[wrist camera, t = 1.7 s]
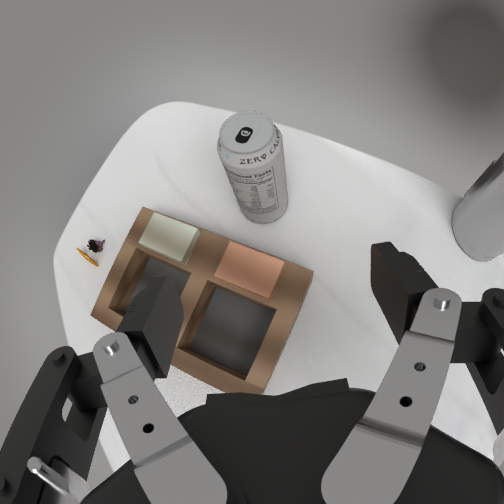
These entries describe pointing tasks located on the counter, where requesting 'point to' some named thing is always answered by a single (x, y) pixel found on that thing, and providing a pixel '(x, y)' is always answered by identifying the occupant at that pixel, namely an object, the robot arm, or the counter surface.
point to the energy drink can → (254, 165)
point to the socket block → (210, 299)
